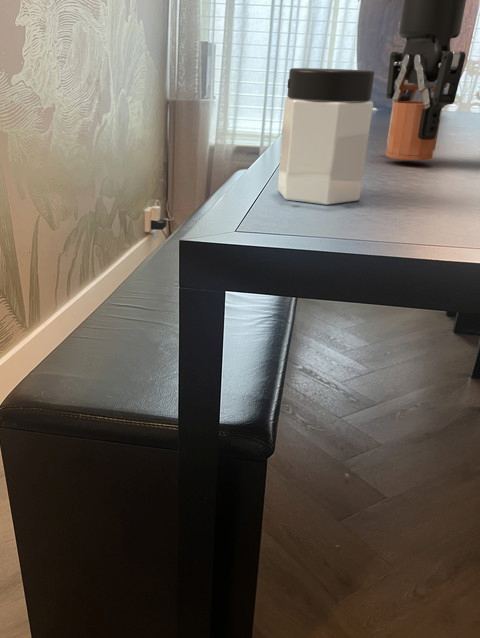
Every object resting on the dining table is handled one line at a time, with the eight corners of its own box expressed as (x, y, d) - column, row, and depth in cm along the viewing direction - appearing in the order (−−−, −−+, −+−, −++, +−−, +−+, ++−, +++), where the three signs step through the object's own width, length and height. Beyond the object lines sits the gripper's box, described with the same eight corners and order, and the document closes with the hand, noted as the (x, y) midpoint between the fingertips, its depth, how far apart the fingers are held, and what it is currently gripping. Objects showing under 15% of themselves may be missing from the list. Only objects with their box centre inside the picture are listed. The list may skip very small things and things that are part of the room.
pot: (416, 153, 89) (425, 100, 85) (442, 159, 83) (452, 104, 80) (377, 154, 87) (384, 100, 84) (400, 160, 82) (409, 104, 79)
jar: (321, 185, 70) (334, 68, 64) (375, 199, 64) (395, 71, 58) (260, 192, 65) (268, 67, 59) (311, 208, 59) (327, 70, 53)
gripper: (499, -9, 71) (467, 142, 79) (429, 0, 83) (408, 130, 91) (442, -12, 69) (416, 143, 77) (380, -2, 82) (362, 130, 89)
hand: (411, 135), depth 84 cm, fingers closed on pot, 6 cm apart
